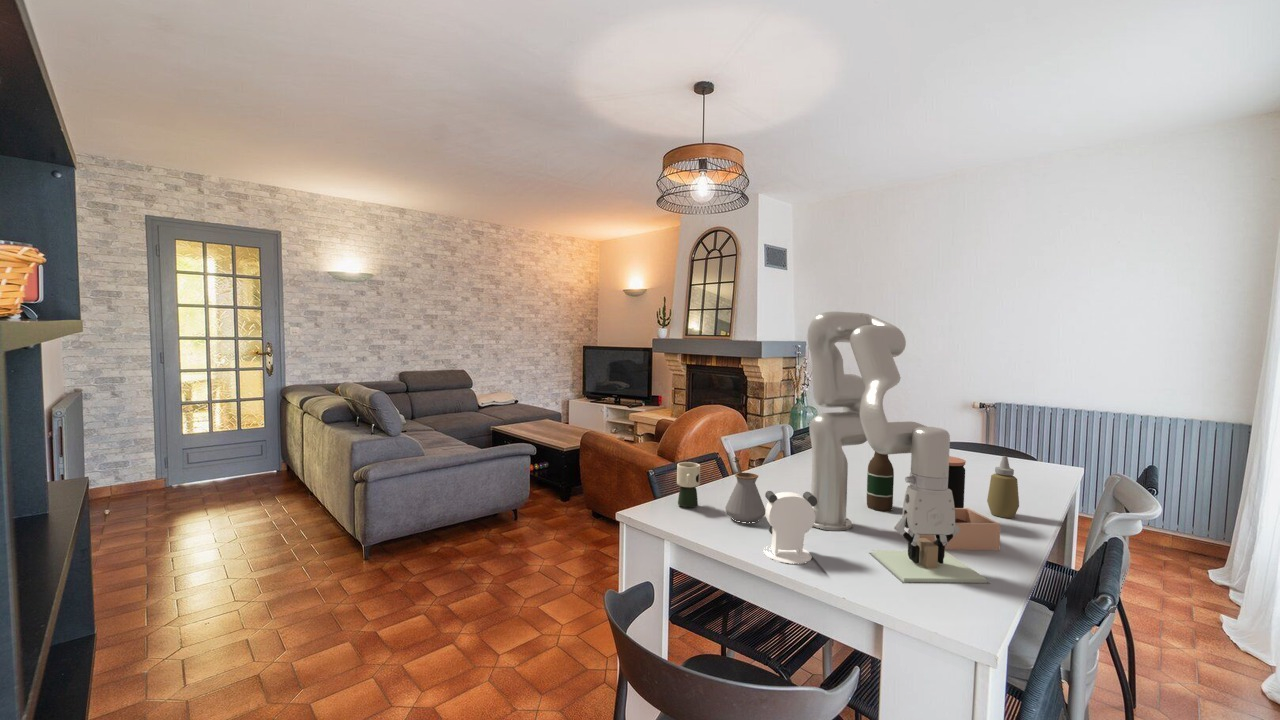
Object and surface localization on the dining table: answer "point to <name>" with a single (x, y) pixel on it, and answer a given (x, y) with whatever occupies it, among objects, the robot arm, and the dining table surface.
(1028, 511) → the dining table surface
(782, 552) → the panda figurine
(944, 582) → the mat
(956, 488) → the coffee jar
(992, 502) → the squeeze bottle
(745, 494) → the coffee pot
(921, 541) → the lid
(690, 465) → the character mug
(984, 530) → the wooden cubby box
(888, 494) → the beer bottle
